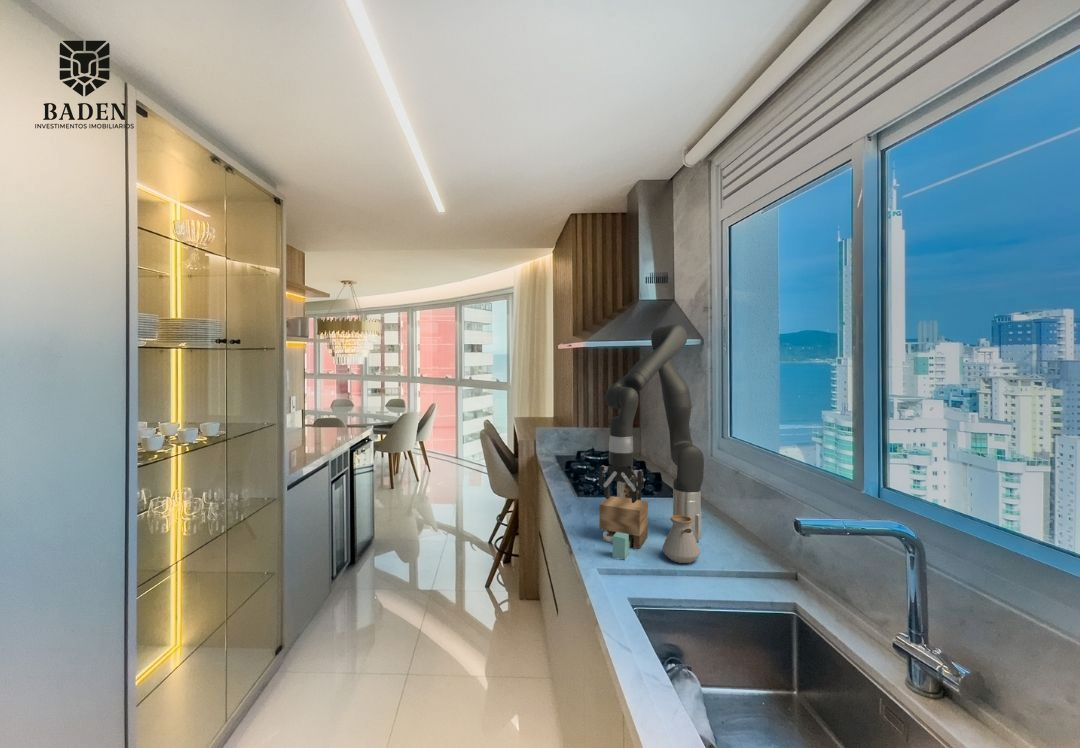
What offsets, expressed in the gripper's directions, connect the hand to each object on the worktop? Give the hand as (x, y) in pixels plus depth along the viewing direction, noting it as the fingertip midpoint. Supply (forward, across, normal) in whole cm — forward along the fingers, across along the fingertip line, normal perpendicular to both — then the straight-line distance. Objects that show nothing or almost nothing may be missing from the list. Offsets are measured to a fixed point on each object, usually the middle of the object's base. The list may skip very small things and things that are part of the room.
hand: (620, 500), depth 144 cm
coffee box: (+18, +8, -37) cm, 42 cm away
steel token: (+18, +7, -11) cm, 23 cm away
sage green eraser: (+18, 0, -6) cm, 19 cm away
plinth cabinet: (+18, +3, -13) cm, 23 cm away
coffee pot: (+18, -19, -3) cm, 27 cm away
